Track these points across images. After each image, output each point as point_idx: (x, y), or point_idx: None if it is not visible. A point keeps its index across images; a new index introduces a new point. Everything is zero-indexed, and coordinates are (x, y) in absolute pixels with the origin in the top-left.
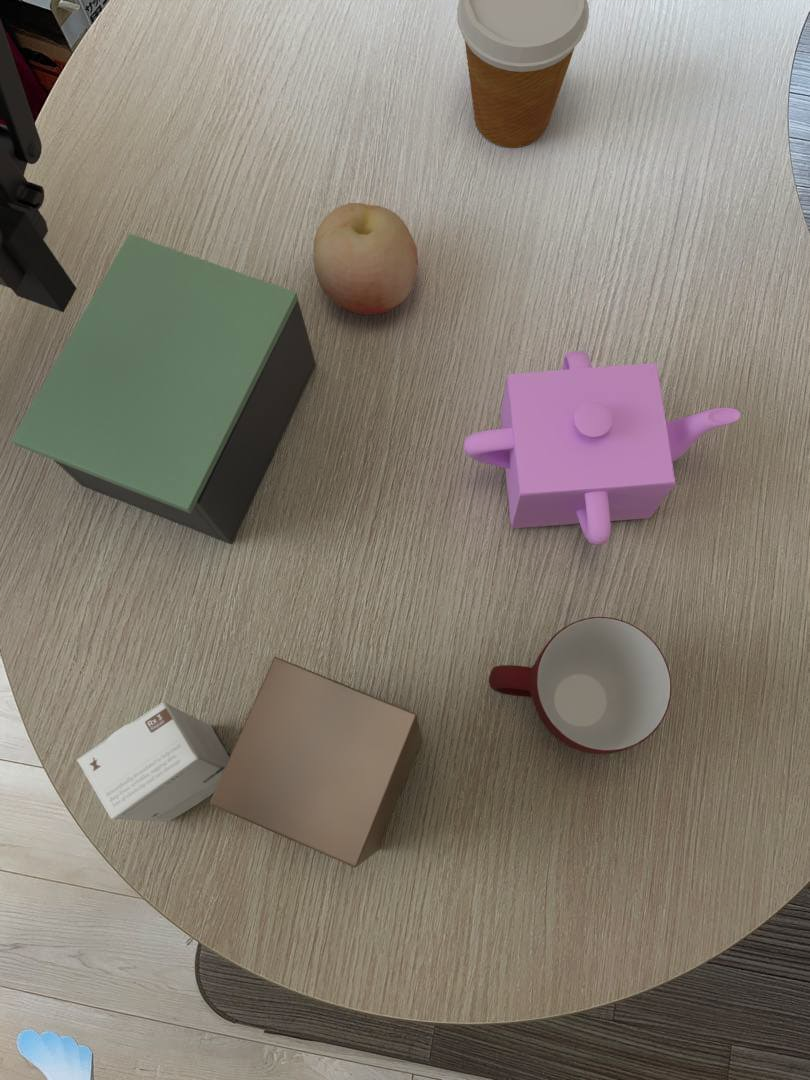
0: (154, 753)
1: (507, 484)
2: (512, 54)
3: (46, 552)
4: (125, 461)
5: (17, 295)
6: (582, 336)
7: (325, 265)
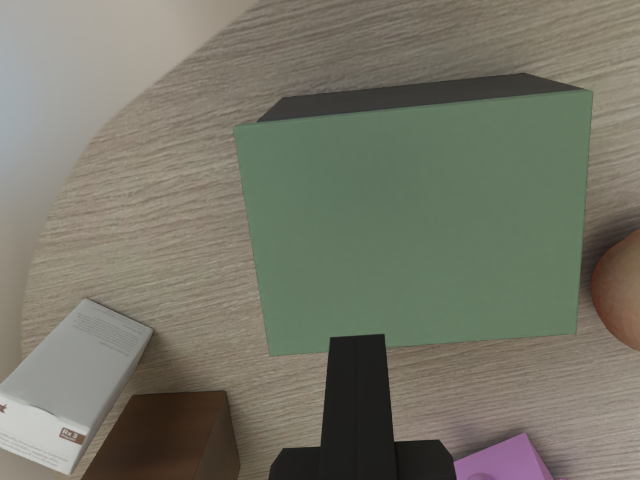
0: (46, 446)
1: (465, 461)
2: None
3: (199, 105)
4: (283, 270)
5: (330, 338)
6: (635, 453)
7: (634, 284)
